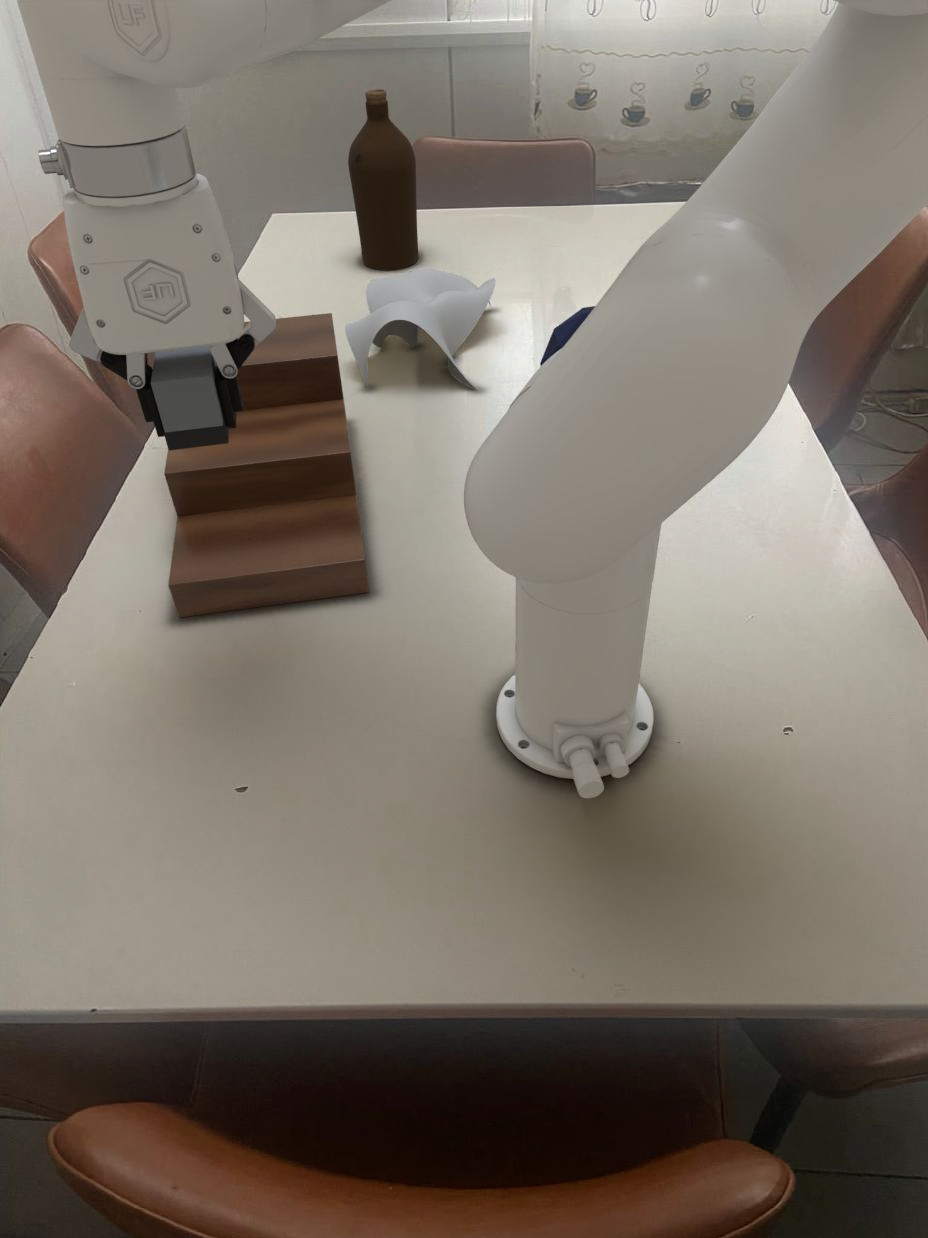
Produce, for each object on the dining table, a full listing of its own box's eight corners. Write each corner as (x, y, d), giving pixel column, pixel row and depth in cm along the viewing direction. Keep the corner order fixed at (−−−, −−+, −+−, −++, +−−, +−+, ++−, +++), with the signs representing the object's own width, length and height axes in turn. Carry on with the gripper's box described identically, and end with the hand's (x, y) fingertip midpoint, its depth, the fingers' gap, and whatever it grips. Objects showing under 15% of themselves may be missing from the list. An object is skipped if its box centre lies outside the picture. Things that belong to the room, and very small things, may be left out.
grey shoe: (228, 443, 66) (212, 375, 63) (168, 450, 66) (148, 382, 62) (229, 393, 72) (214, 328, 69) (174, 399, 72) (156, 334, 68)
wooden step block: (369, 592, 85) (352, 467, 76) (178, 617, 84) (136, 493, 74) (347, 423, 110) (331, 312, 100) (199, 440, 108) (169, 329, 99)
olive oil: (414, 272, 145) (401, 99, 129) (351, 270, 147) (331, 99, 130) (428, 249, 153) (417, 83, 136) (368, 247, 155) (351, 83, 138)
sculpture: (375, 309, 135) (368, 244, 129) (499, 310, 133) (499, 243, 127) (342, 388, 117) (331, 316, 110) (486, 390, 115) (484, 316, 108)
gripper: (-24, 193, 52) (77, 463, 64) (269, 168, 54) (312, 435, 66) (1, 158, 57) (89, 413, 69) (266, 136, 59) (306, 388, 71)
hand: (197, 421), depth 68 cm, fingers closed on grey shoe, 4 cm apart
